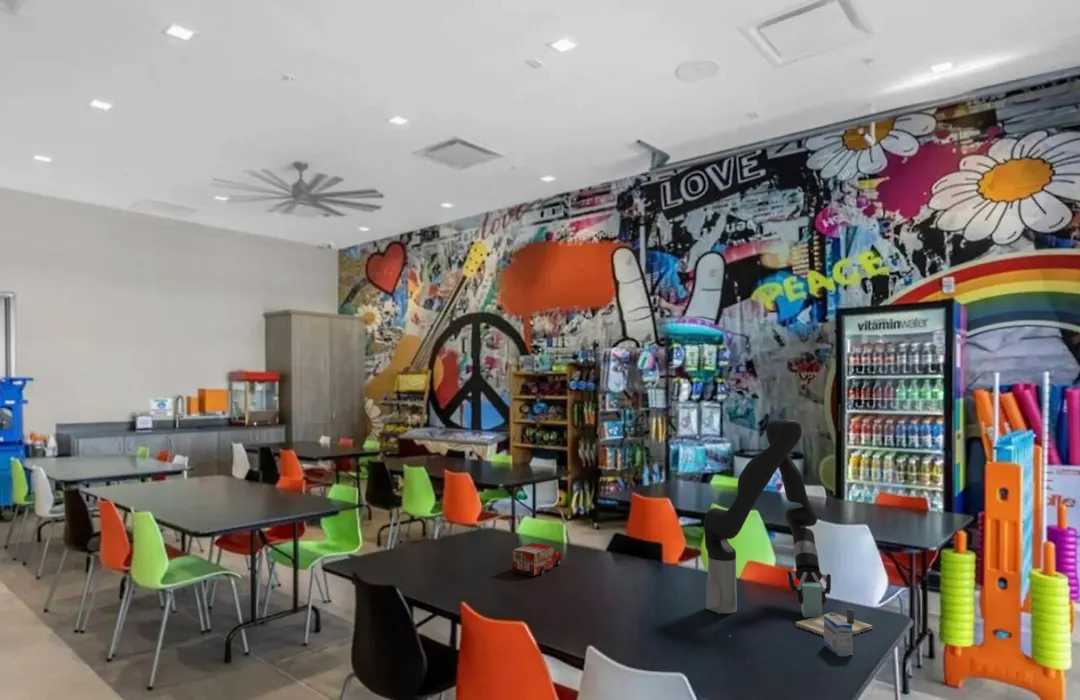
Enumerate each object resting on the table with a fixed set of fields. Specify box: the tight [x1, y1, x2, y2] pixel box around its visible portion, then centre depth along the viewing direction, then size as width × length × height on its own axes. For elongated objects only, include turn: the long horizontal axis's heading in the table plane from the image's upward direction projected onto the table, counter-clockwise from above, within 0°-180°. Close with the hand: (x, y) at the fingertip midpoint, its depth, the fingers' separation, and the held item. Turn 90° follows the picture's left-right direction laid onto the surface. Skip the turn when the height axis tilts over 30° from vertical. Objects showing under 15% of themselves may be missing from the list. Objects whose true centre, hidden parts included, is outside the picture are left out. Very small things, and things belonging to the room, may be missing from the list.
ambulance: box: [511, 542, 563, 577], centre depth 273 cm, size 11×25×10 cm, turn 148°
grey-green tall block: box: [800, 582, 823, 618], centre depth 219 cm, size 6×6×10 cm
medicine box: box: [823, 616, 854, 657], centre depth 190 cm, size 8×4×9 cm, turn 5°
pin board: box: [795, 608, 873, 637], centre depth 207 cm, size 18×14×5 cm
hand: (812, 603), depth 217 cm, fingers open, 6 cm apart
